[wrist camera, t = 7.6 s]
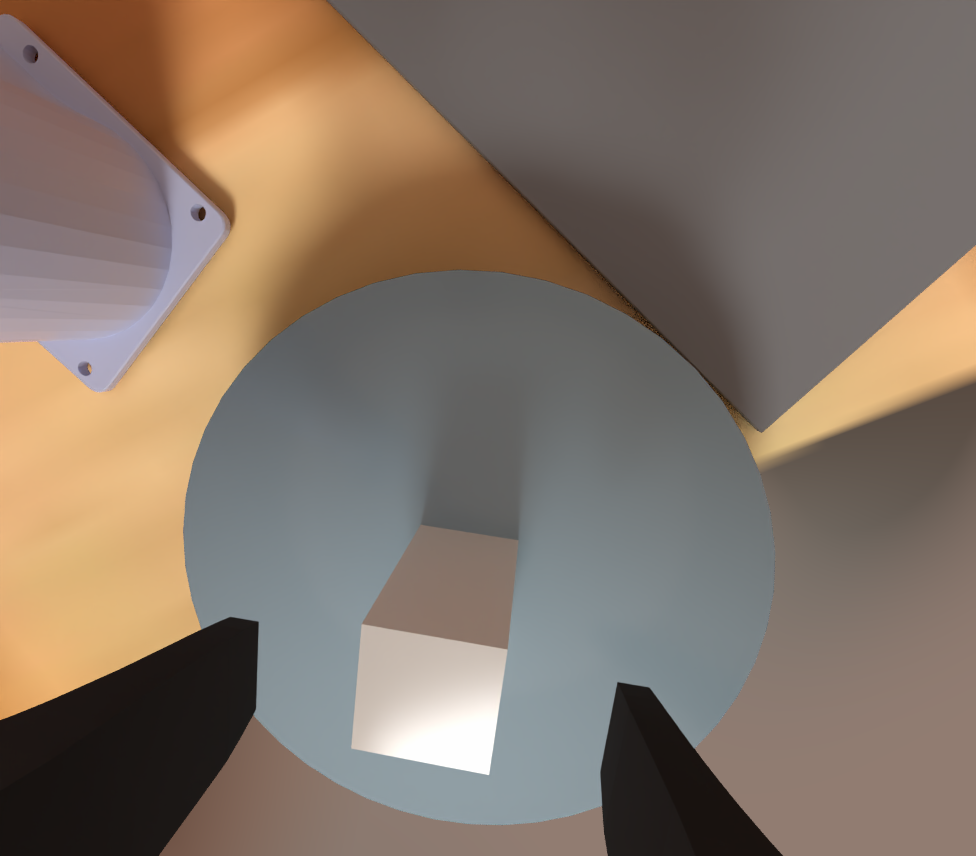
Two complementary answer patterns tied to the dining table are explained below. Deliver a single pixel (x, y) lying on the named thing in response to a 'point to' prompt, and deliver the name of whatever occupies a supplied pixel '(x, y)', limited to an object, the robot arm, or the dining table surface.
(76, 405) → the dining table surface
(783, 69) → the mat
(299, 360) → the lid
